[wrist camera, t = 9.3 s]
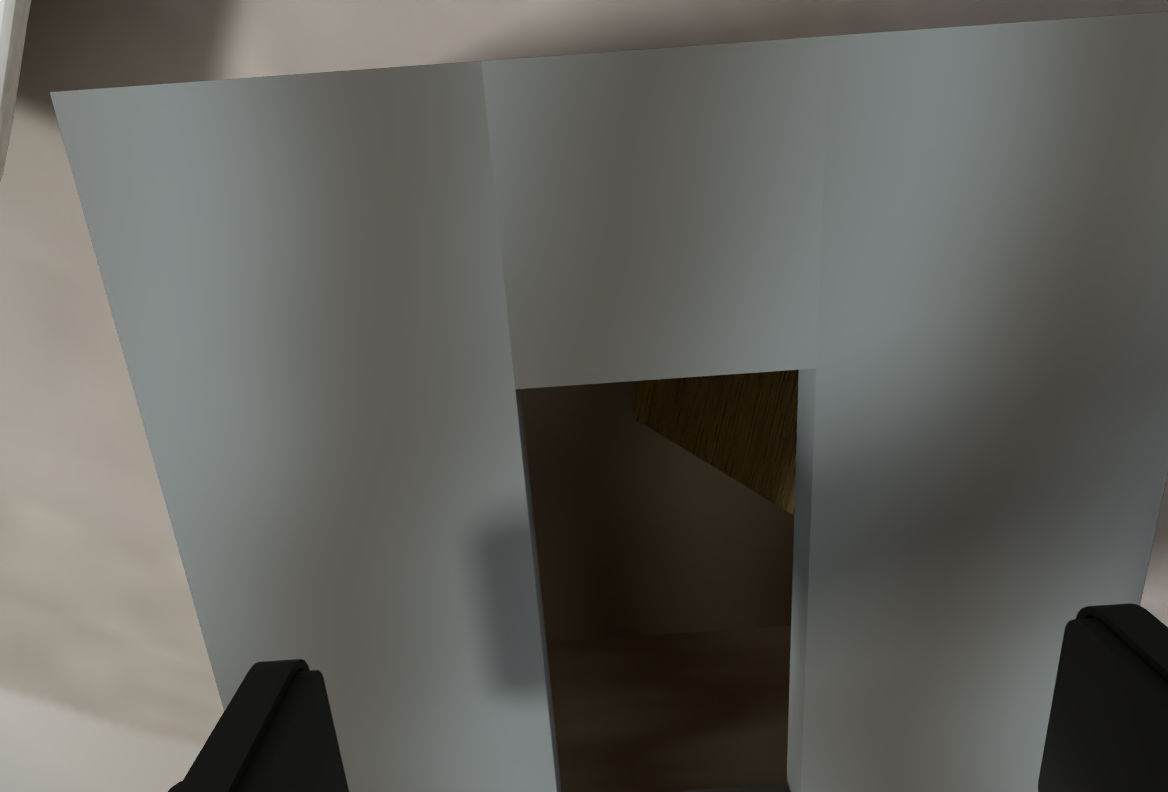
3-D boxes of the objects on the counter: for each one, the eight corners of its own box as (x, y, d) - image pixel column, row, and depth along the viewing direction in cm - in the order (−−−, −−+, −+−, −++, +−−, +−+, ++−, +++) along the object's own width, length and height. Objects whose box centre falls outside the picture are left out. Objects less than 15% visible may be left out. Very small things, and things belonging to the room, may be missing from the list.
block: (737, 222, 19) (966, 282, 14) (694, 410, 20) (889, 515, 16) (671, 216, 17) (902, 278, 13) (632, 417, 19) (824, 534, 14)
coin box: (901, 71, 18) (1267, 4, 9) (864, 629, 23) (1063, 967, 14) (320, 113, 18) (49, 91, 9) (415, 659, 23) (310, 1016, 14)
